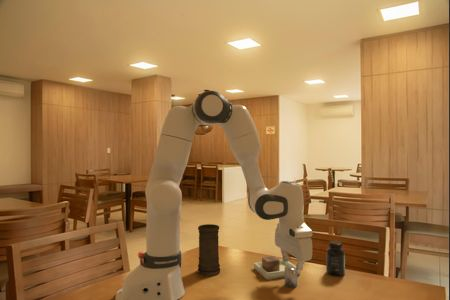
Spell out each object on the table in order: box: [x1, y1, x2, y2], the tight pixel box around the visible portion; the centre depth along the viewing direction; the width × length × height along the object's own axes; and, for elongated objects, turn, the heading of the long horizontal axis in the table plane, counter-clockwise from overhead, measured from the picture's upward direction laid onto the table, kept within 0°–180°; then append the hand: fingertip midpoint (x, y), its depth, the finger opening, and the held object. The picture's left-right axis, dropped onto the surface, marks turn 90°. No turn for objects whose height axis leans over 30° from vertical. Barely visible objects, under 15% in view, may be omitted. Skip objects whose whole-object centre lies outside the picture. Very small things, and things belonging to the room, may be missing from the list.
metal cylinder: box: [284, 266, 298, 289], centre depth 119 cm, size 4×4×6 cm
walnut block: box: [261, 255, 280, 272], centre depth 130 cm, size 5×5×5 cm
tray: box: [253, 258, 301, 281], centre depth 132 cm, size 14×12×2 cm
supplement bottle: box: [325, 240, 346, 277], centre depth 130 cm, size 7×7×12 cm
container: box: [197, 223, 221, 277], centre depth 132 cm, size 9×9×18 cm
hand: (292, 265), depth 120 cm, fingers open, 8 cm apart
